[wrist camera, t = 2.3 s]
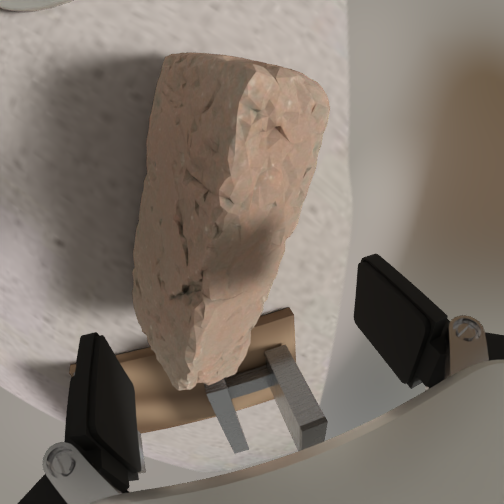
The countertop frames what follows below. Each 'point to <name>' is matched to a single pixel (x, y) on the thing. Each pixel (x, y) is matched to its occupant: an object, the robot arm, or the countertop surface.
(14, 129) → the countertop surface
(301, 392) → the free jaw
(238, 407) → the vise base
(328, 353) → the countertop surface
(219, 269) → the brick
